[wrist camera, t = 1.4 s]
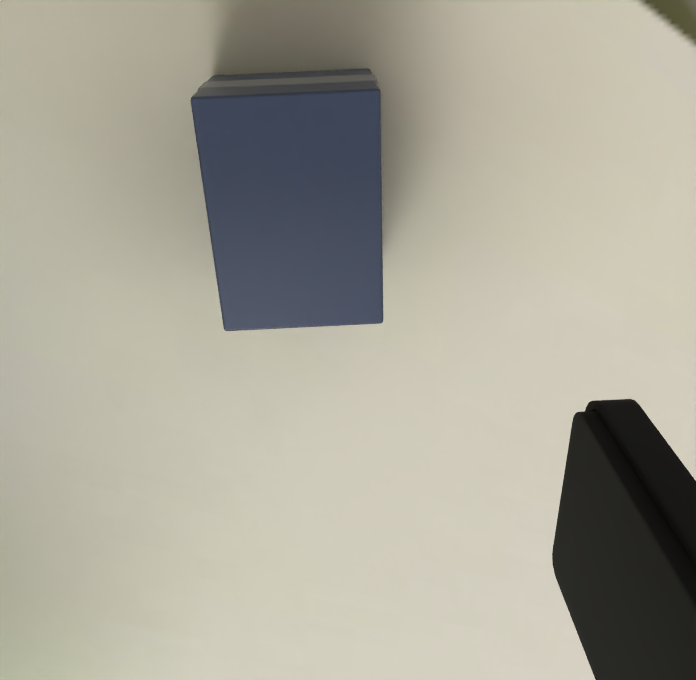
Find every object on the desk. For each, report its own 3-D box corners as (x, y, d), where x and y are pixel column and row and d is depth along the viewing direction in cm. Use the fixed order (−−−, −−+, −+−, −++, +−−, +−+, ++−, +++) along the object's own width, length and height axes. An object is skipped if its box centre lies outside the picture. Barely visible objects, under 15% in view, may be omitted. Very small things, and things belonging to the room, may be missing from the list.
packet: (210, 74, 21) (188, 96, 17) (371, 67, 21) (381, 88, 17) (237, 280, 24) (223, 332, 21) (375, 273, 24) (384, 325, 21)
